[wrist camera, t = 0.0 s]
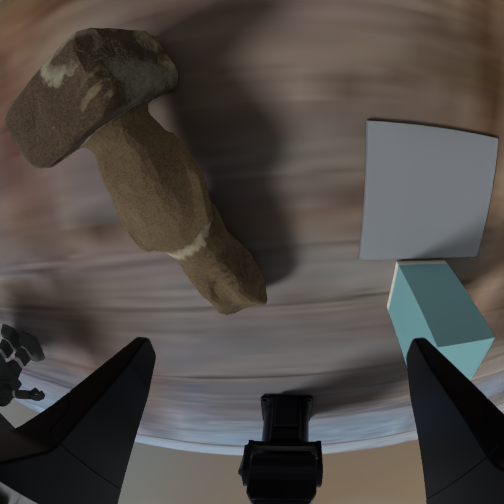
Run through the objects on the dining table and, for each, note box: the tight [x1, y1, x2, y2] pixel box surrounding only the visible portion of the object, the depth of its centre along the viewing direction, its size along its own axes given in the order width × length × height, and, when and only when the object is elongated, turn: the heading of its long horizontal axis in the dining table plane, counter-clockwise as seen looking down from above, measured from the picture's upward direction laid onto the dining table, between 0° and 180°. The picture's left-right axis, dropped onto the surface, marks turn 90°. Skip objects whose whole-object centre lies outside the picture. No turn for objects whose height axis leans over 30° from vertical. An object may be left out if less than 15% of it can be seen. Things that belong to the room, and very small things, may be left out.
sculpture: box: [6, 28, 267, 315], centre depth 19 cm, size 8×22×15 cm
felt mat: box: [359, 120, 498, 260], centre depth 20 cm, size 11×12×1 cm
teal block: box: [387, 260, 495, 380], centre depth 20 cm, size 5×5×10 cm
